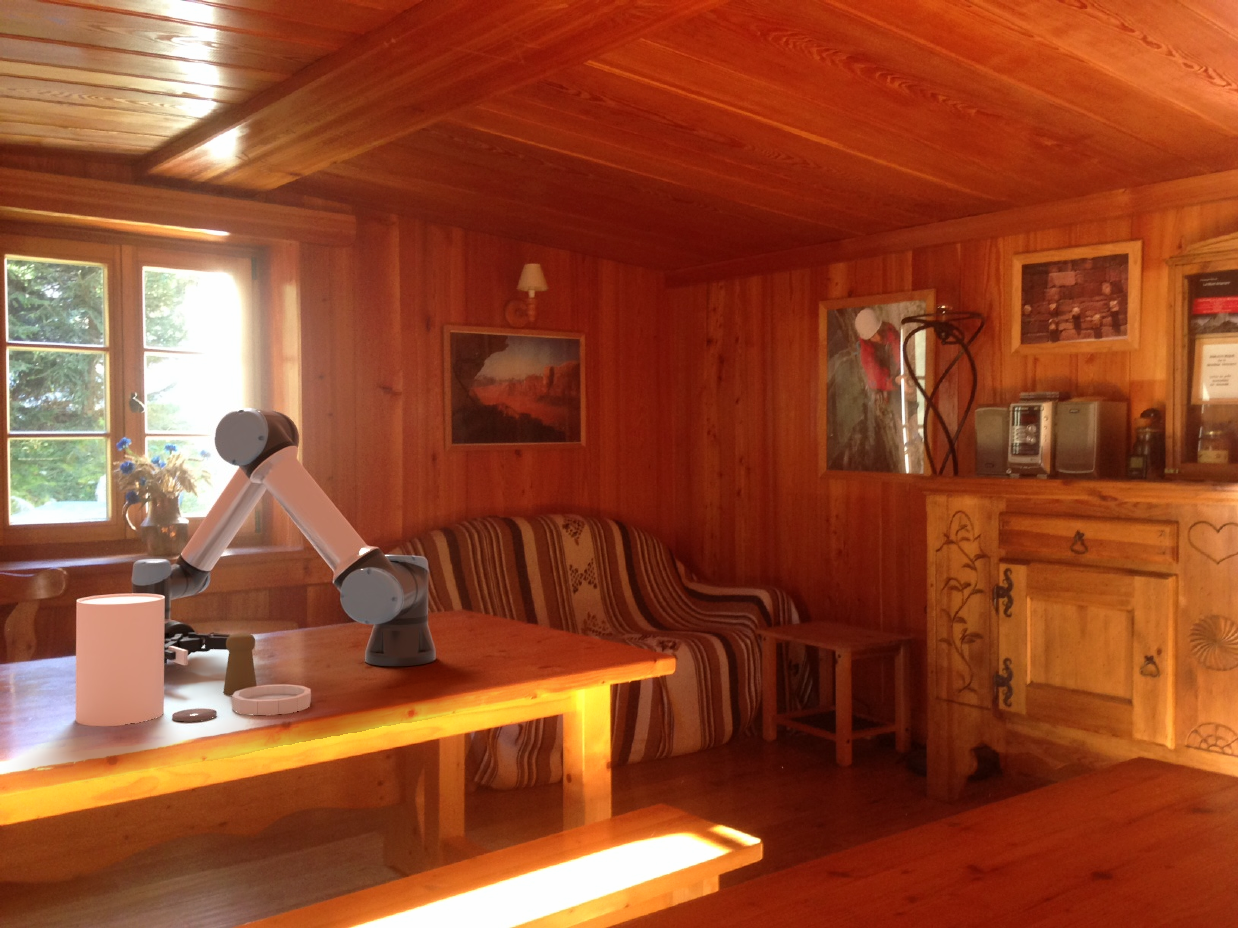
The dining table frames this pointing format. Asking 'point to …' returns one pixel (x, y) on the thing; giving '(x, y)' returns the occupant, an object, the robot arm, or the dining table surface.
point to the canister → (119, 659)
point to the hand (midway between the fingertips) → (220, 653)
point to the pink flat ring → (271, 699)
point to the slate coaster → (194, 715)
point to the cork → (239, 663)
